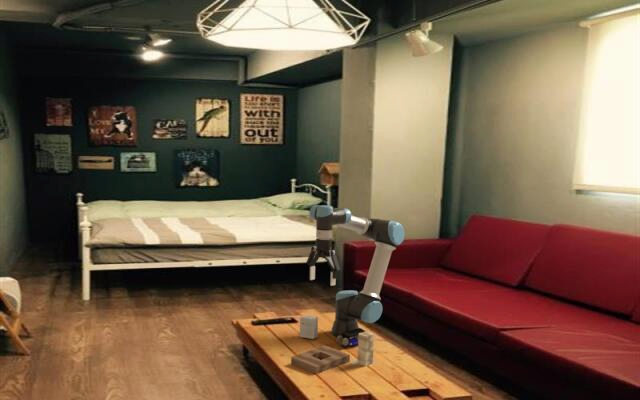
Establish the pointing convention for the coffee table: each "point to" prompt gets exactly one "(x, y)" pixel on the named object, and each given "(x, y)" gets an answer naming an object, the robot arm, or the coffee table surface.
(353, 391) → the coffee table surface
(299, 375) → the coffee table surface
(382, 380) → the coffee table surface
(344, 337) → the toy car
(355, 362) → the pad
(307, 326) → the small box
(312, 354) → the pocket board
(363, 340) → the beech block
